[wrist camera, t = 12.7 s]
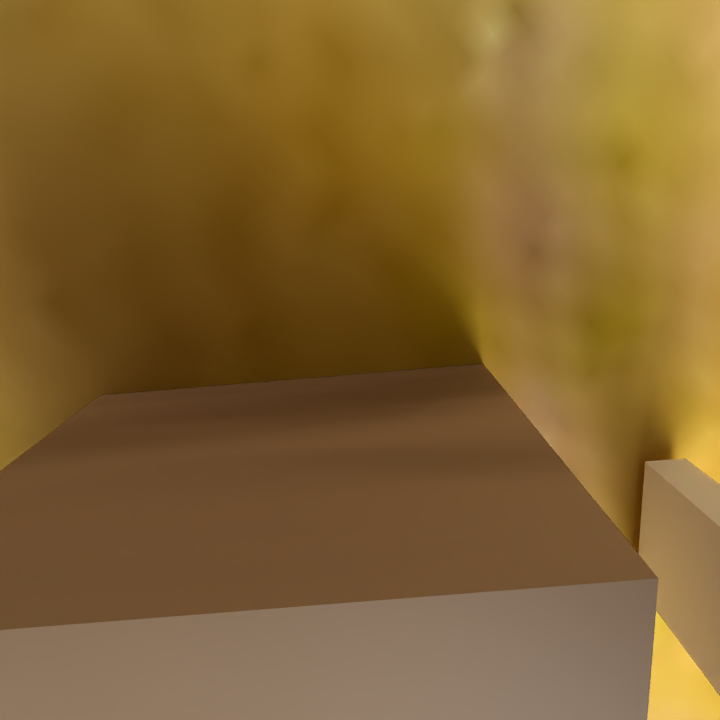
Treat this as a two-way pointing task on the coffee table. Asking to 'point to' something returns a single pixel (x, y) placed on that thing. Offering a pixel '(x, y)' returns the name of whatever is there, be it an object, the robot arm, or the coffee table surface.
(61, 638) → the walnut block
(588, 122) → the coffee table surface
